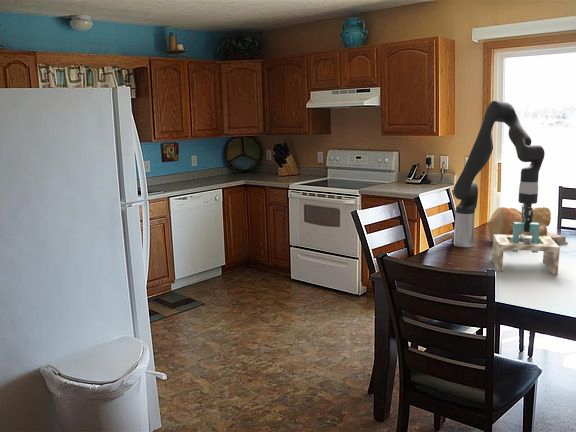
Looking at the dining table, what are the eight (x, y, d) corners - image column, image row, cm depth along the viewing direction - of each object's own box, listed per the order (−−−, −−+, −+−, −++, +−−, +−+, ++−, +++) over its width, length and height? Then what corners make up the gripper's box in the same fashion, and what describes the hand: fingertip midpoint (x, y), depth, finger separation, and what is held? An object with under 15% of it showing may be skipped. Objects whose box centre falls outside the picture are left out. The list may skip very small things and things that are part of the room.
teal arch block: (513, 251, 244) (514, 223, 242) (511, 249, 248) (513, 221, 246) (537, 252, 242) (539, 224, 239) (535, 250, 246) (537, 222, 243)
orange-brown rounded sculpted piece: (477, 216, 299) (530, 221, 302) (481, 248, 291) (535, 253, 294) (494, 199, 281) (550, 204, 284) (499, 233, 273) (556, 238, 276)
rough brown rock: (549, 231, 317) (550, 205, 316) (550, 235, 302) (551, 208, 301) (506, 229, 326) (507, 204, 325) (504, 233, 311) (505, 207, 310)
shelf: (497, 271, 239) (499, 241, 237) (491, 259, 259) (493, 231, 256) (557, 274, 234) (560, 244, 231) (547, 262, 253) (549, 233, 250)
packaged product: (569, 235, 284) (554, 237, 281) (568, 244, 285) (553, 246, 282) (542, 228, 301) (527, 230, 298) (541, 237, 302) (527, 239, 299)
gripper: (516, 189, 248) (514, 227, 251) (521, 194, 234) (519, 233, 237) (534, 189, 246) (531, 227, 249) (541, 194, 232) (538, 234, 235)
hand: (525, 230), depth 243 cm, fingers closed on teal arch block, 4 cm apart
